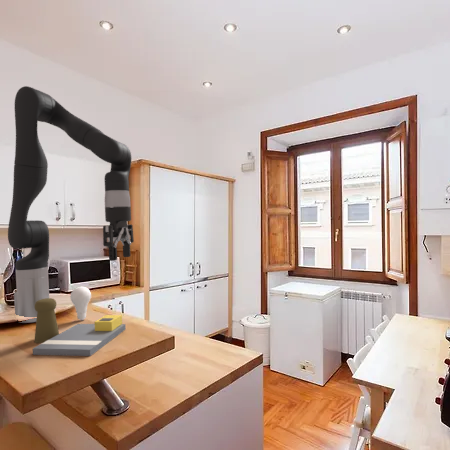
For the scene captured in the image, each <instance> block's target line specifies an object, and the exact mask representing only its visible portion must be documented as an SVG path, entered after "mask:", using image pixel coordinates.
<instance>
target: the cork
mask: <svg viewBox="0 0 450 450" xmlns="http://www.w3.org/2000/svg"><path fill="white" fill-rule="evenodd" d="M56 308H57V301H56V299H54V298H53V297H49V298H45V299H41V300H38V301H37V302H36V303H35V310H36V312H37V320H36V322H35V332H34V340H33V342H34V343H36V344H42V343H44V342H45V341H47V340H49V339H51V338H53V337H55V336H57V335H58V334H60V331H59V327H58V326H59V325H58V322H57V316H56V310H55V309H56Z"/></svg>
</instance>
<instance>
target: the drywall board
mask: <svg viewBox="0 0 450 450" xmlns="http://www.w3.org/2000/svg"><path fill="white" fill-rule="evenodd" d="M125 330H126V323H122V324H121V325H120V326H118V327H117V328H116V329H114V330H113V331H95V323H76V324H75V325H73V326H71V327H70V328H69V327H68V329H66V330H64V331H62V332H61V333H60V332H59V334H58V335H57V336H55V337H53V338H51V339H49V340H47V341H45V342H44V343H39V344H38V345H36V346H35V347H33V348H32V355H34V356H37V355H39V356H70V357H71V356H73V357H74V356H76V357H77V356H78V357H81V356H82V357H91V356H92V355H94V354H95V353H96V352H98V351H100V349H102V348H103V347H104V346H106V345H107V344H108V343H109V342H111V341H113V339H114V338H116V337H118V336H119V335H121V333H123V332H124V331H125Z"/></svg>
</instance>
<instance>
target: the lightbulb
mask: <svg viewBox="0 0 450 450" xmlns="http://www.w3.org/2000/svg"><path fill="white" fill-rule="evenodd" d="M69 297H70V301H71V303H72V305H74V308H75V313H76V315H77V320H79V321H84V320H85V319H86V318H87V312H88V304H89V303H90V301H91V299H92V293H91V291H90V289H89V288H88V287H85V286H83V285H82V286H81V285H80V286H78V287H76V288H74V289H73V290H72V291H71V293H70V296H69Z"/></svg>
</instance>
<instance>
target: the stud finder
mask: <svg viewBox="0 0 450 450" xmlns="http://www.w3.org/2000/svg"><path fill="white" fill-rule="evenodd" d="M94 324H95V331H113V330H114V329H116V328H117V327H118V326H120V325H121V324H123V316H122V314H121V315H120V314H114V315H113V314H112V315H111V314H110V315H109V314H105V315H104V316H102V317H101V318H99V319H97V320H95V321H94Z"/></svg>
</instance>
